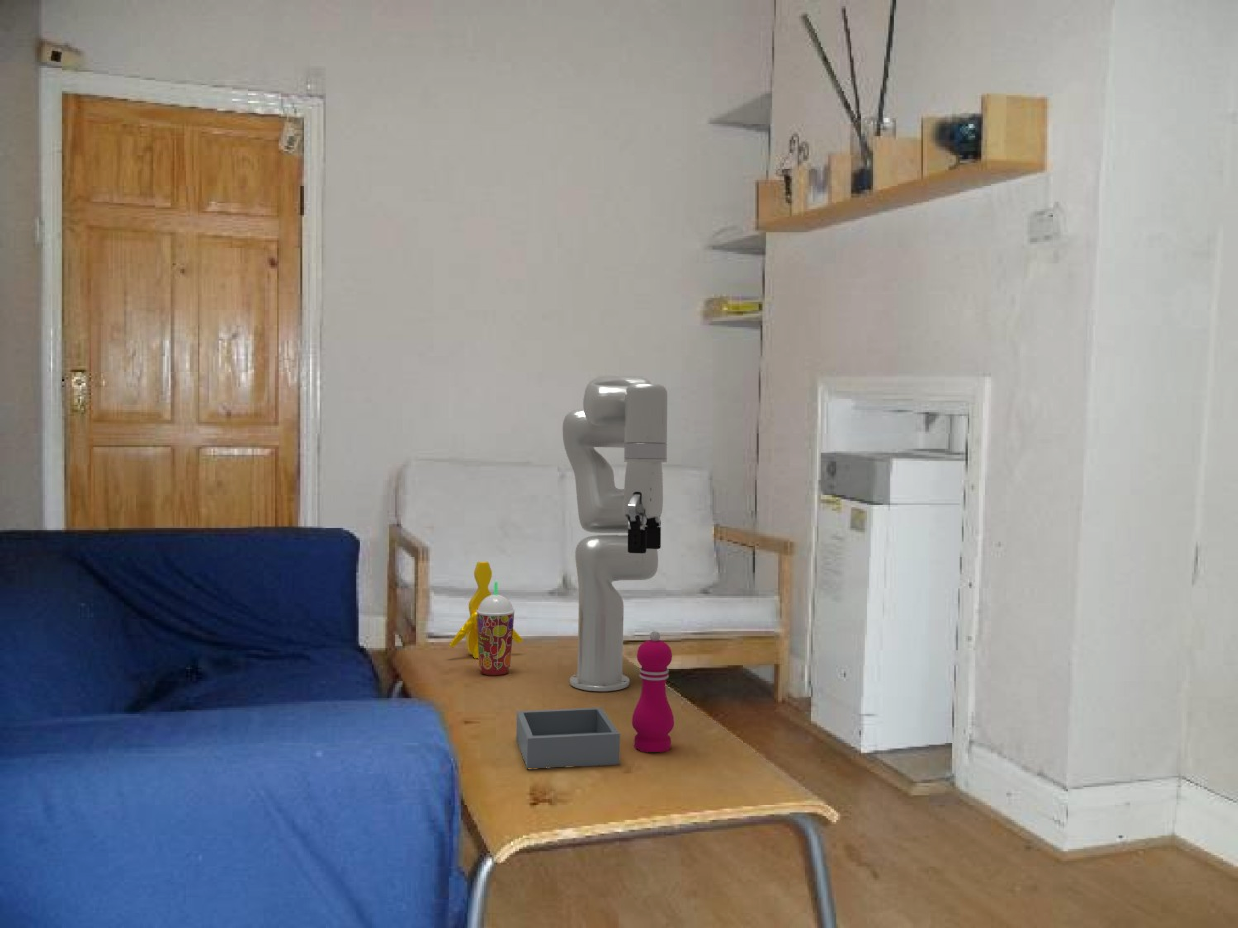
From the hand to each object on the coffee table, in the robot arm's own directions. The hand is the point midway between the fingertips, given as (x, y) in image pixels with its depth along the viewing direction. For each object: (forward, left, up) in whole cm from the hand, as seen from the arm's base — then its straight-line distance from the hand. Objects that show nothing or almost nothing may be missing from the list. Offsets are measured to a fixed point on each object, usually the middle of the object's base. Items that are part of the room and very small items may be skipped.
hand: (644, 550), depth 173 cm
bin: (+7, -15, -33) cm, 37 cm away
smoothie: (-47, -22, -33) cm, 62 cm away
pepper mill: (+7, 0, -33) cm, 34 cm away
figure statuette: (-63, -23, -33) cm, 75 cm away
